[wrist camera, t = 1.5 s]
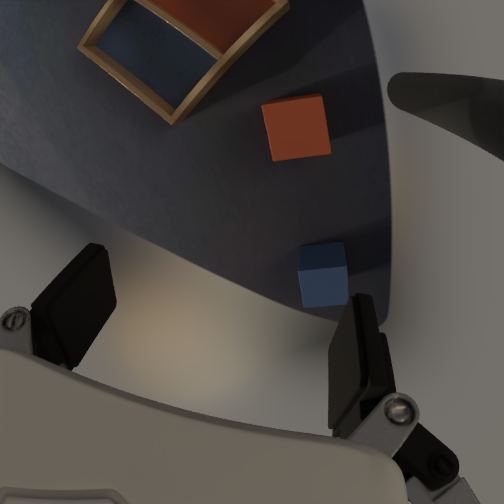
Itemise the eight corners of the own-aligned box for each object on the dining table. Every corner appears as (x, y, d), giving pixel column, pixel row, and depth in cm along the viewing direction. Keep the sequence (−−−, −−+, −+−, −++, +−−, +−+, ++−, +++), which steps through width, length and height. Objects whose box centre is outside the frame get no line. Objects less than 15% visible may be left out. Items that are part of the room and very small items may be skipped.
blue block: (304, 281, 34) (303, 308, 30) (299, 245, 32) (297, 271, 28) (345, 277, 33) (348, 304, 29) (342, 241, 31) (347, 266, 27)
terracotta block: (277, 148, 27) (273, 161, 23) (267, 100, 25) (261, 105, 21) (327, 141, 26) (331, 153, 22) (319, 93, 24) (321, 95, 20)
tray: (181, -61, 17) (170, -71, 14) (290, 8, 20) (288, 1, 18) (93, 47, 23) (76, 48, 21) (183, 120, 27) (171, 125, 24)
